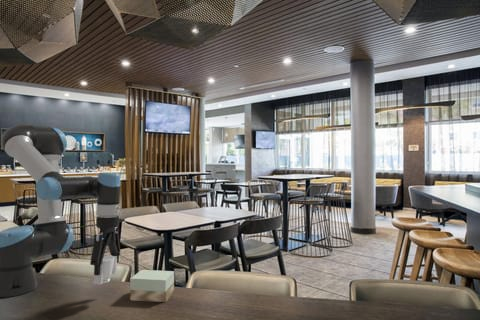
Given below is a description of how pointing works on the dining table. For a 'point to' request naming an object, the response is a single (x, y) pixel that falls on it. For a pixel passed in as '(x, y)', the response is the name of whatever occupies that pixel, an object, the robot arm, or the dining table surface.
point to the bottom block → (151, 295)
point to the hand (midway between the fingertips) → (105, 278)
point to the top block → (152, 280)
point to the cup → (107, 267)
